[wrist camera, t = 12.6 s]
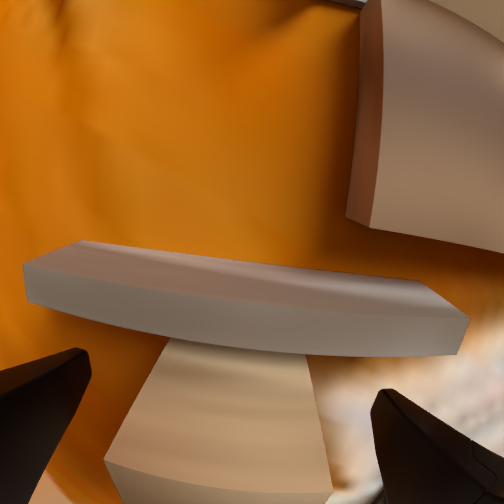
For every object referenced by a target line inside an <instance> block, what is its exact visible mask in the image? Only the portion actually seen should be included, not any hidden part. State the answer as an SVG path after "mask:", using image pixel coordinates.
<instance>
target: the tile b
mask: <svg viewBox="0 0 504 504" xmlns="http://www.w3.org/2000/svg"><path fill="white" fill-rule="evenodd" d="M429 1H432V2H434V3H436V4H438V5H440V6H442V7H444V8H446V9H448V10H450V11H452V12H454V13H456V14H458V15H459V16H461V17H463V18H465V19H467V20H468V21H470V22H472V23H474V24H475V25H477V26H479V27H480V28H482V29H483V30H485V31H487V32H488V33H490V34H491V35H493V36H494V37H496V38H497V39H499V40H500V41H502V42H503V43H504V0H429Z"/></svg>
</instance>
